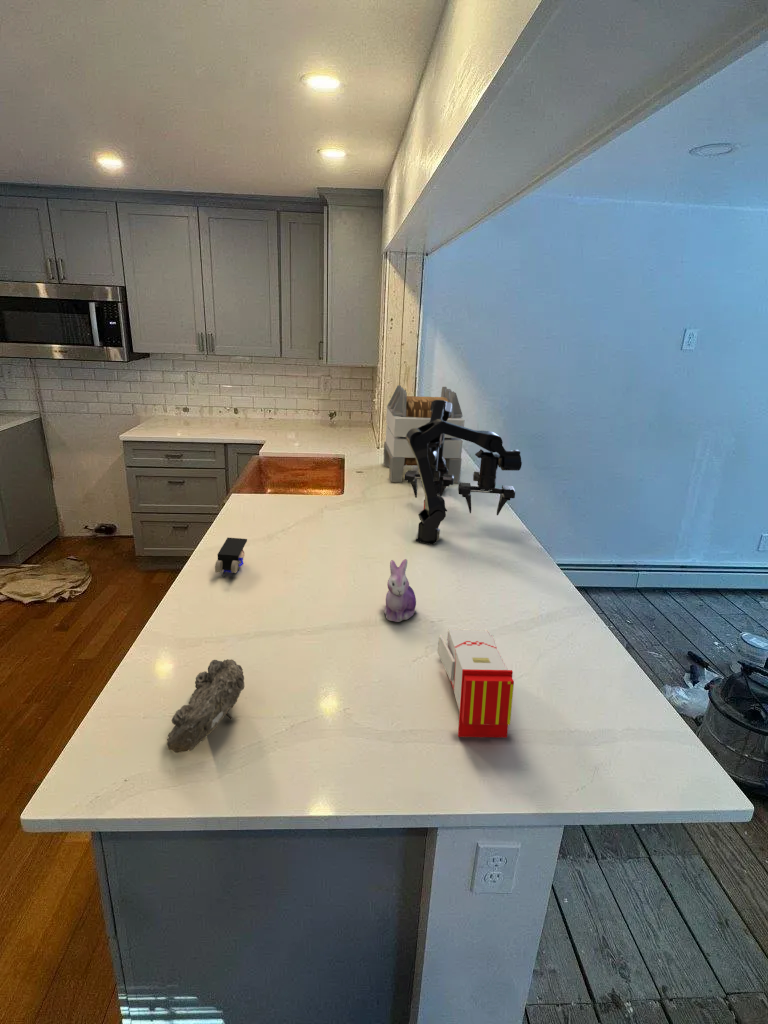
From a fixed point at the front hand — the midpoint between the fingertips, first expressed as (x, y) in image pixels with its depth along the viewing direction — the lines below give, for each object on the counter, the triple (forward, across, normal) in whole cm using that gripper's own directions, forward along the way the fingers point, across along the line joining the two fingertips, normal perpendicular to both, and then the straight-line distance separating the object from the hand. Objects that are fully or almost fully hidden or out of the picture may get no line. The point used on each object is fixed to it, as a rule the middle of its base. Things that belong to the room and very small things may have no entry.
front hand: (483, 513), depth 195 cm
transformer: (+10, +25, -80) cm, 84 cm away
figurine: (+10, +24, +56) cm, 62 cm away
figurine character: (+10, +75, +39) cm, 85 cm away
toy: (+10, +8, +85) cm, 86 cm away
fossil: (+10, +57, +101) cm, 116 cm away
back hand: (+4, +20, -25) cm, 32 cm away
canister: (+10, +19, -24) cm, 32 cm away
